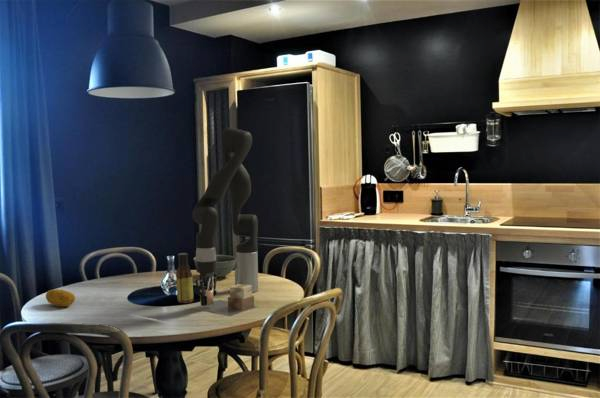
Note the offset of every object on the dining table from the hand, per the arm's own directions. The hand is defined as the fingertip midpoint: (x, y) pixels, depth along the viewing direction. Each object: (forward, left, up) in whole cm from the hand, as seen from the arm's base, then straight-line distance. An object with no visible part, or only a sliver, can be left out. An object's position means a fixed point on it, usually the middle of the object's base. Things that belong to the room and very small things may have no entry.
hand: (207, 303), depth 216 cm
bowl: (-39, +46, -3) cm, 61 cm away
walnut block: (+10, +8, -2) cm, 13 cm away
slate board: (+5, +4, -3) cm, 7 cm away
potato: (-53, -27, -3) cm, 60 cm away
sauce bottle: (-15, +3, -3) cm, 16 cm away
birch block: (+10, +8, +2) cm, 13 cm away
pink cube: (0, 0, 0) cm, 0 cm away
